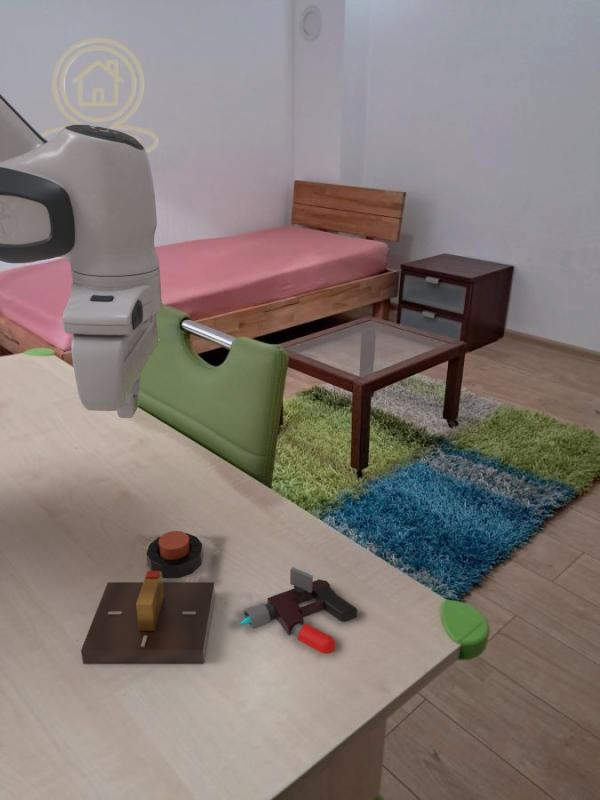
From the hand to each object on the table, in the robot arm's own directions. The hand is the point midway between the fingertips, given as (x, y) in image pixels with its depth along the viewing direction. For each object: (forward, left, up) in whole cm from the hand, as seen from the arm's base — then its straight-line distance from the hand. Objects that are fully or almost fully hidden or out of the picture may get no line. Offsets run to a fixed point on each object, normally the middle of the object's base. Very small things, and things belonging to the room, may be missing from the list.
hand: (128, 412), depth 72 cm
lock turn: (+4, -14, -17) cm, 22 cm away
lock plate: (+4, -14, -20) cm, 25 cm away
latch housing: (+5, -3, -20) cm, 21 cm away
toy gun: (+20, -13, -20) cm, 31 cm away
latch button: (+5, -3, -17) cm, 18 cm away
